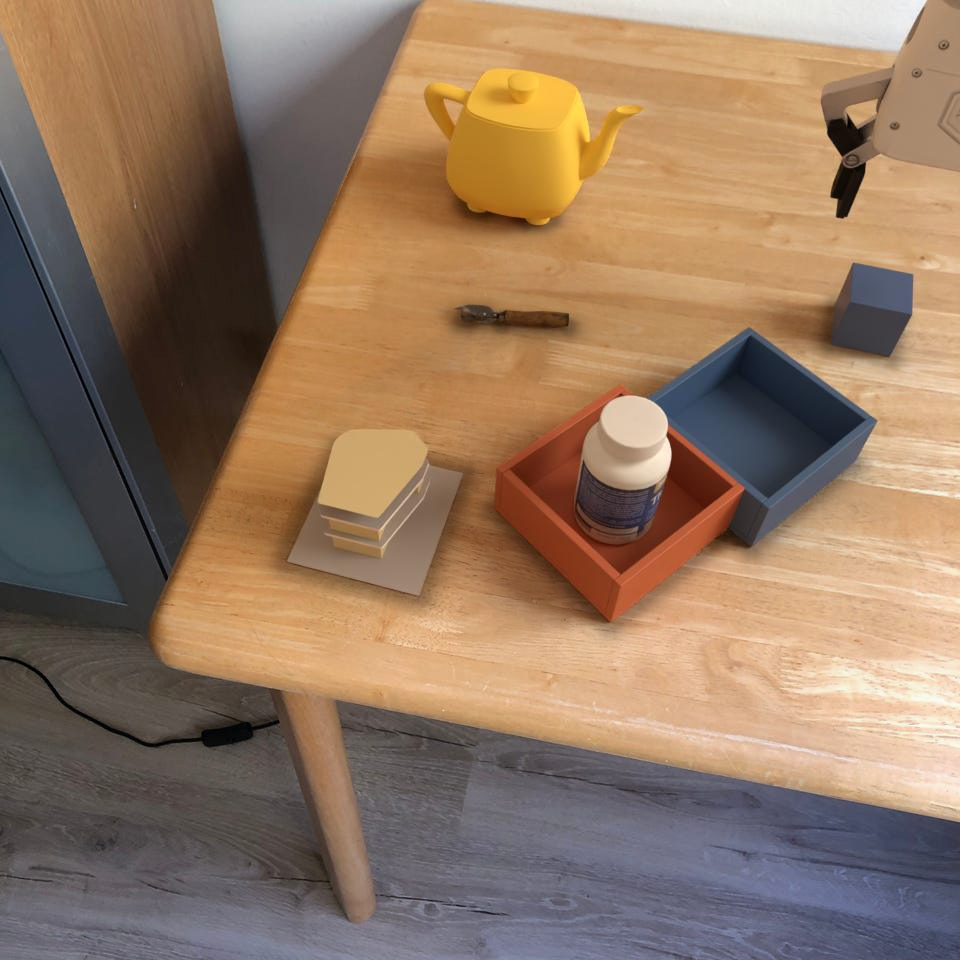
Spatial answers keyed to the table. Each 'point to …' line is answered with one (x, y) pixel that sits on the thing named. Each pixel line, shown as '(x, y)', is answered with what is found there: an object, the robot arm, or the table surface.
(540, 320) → the can opener
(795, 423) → the blue bin
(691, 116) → the table surface
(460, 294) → the table surface
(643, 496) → the pill bottle
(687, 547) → the terracotta bin
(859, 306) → the blue block
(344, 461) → the stacked layers on plate
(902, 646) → the table surface
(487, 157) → the teapot
